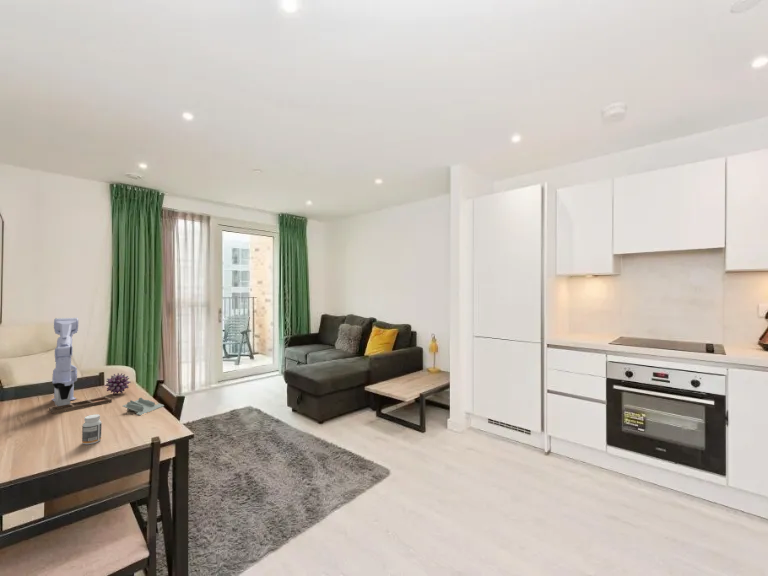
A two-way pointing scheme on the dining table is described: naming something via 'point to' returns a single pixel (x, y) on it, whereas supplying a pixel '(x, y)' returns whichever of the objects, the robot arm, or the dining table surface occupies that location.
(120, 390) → the spiky ball
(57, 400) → the square peg
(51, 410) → the rail
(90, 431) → the pill bottle
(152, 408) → the metal bracket
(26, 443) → the dining table surface
